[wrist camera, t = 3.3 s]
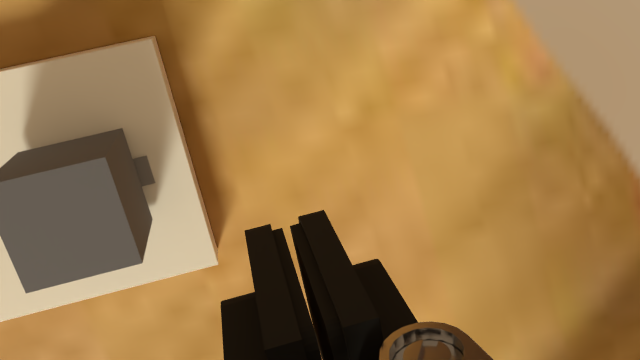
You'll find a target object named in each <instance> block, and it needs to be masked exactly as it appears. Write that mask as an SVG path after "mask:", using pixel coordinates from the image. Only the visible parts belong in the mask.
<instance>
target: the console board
mask: <svg viewBox="0 0 640 360" xmlns="http://www.w3.org/2000/svg"><path fill="white" fill-rule="evenodd" d="M120 128H123V131H124V134H125V137H126V140H127V143H128V146H129V149H130V152H131V155H132V158H133V161H134V164H135V168H136V171H137V174H138V177H139V180H140V183H141V186H142V189H143V192H144V195H145V198H146V201H147V204H148V207H149V210H150V213H151V216H152V219H153V220H152V224H151V229H150V233H149V237H148V242H147V246H146V250H145V255H144V259H143V263H142V264H138V265H134V266H130V267H126V268H122V269H119V270H115V271H111V272H107V273H103V274H99V275H95V276H92V277H88V278H84V279H80V280H76V281H72V282H68V283H65V284H61V285H57V286H53V287H49V288H45V289H41V290H38V291H34V292H30V293H25V290H24V288H23V286H22V284H21V281H20V279H19V277H18V275H17V272H16V270H15V268H14V266H13V263H12V261H11V259H10V257H9V254H8V252H7V250H6V248H5V245H4V243H3V241H2V239H1V236H0V322H2V321H6V320H9V319H13V318H17V317H21V316H25V315H28V314H32V313H36V312H40V311H44V310H47V309H51V308H55V307H59V306H63V305H66V304H70V303H74V302H78V301H81V300H85V299H89V298H93V297H97V296H100V295H104V294H108V293H112V292H116V291H119V290H123V289H127V288H131V287H135V286H138V285H142V284H146V283H150V282H154V281H157V280H161V279H165V278H169V277H173V276H176V275H180V274H184V273H188V272H192V271H195V270H199V269H203V268H207V267H211V266H214V265H218V250H217V246H216V243H215V239H214V236H213V232H212V229H211V226H210V222H209V219H208V215H207V212H206V209H205V205H204V202H203V198H202V195H201V191H200V188H199V185H198V181H197V178H196V174H195V171H194V168H193V164H192V161H191V157H190V154H189V150H188V147H187V144H186V140H185V137H184V133H183V130H182V127H181V123H180V120H179V116H178V113H177V109H176V106H175V103H174V99H173V96H172V92H171V89H170V85H169V82H168V79H167V75H166V72H165V68H164V65H163V62H162V58H161V55H160V51H159V48H158V44H157V41H156V38H155V36H151V37H146V38H142V39H137V40H132V41H128V42H123V43H119V44H114V45H109V46H105V47H100V48H95V49H91V50H86V51H82V52H77V53H72V54H68V55H63V56H58V57H54V58H49V59H44V60H40V61H35V62H31V63H26V64H21V65H17V66H12V67H7V68H3V69H0V168H1V167H2V166H3V165H4V164H5V163H6V162H7V161H9V160H10V159H11V158H12V157H13V156H14V155H15V154H16V153H18V152H21V151H26V150H30V149H34V148H39V147H43V146H47V145H51V144H56V143H60V142H64V141H69V140H73V139H77V138H82V137H86V136H90V135H94V134H99V133H103V132H107V131H112V130H116V129H120Z"/></svg>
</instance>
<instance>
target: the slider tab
mask: <svg viewBox="0 0 640 360" xmlns="http://www.w3.org/2000/svg"><path fill="white" fill-rule="evenodd" d="M152 220H153V219H152V216H151V213H150V210H149V207H148V204H147V201H146V198H145V195H144V192H143V189H142V186H141V183H140V180H139V177H138V174H137V171H136V168H135V164H134V161H133V158H132V155H131V152H130V149H129V146H128V143H127V140H126V137H125V134H124V131H123V128H120V129H116V130H112V131H107V132H103V133H99V134H94V135H90V136H86V137H82V138H77V139H73V140H69V141H64V142H60V143H56V144H51V145H47V146H43V147H39V148H34V149H30V150H26V151H21V152H18V153H16V154H15V155H14V156H13V157H12V158H11V159H10V160H9V161H7V162H6V163H5V164H4V165H3V166H2V167H1V168H0V236H1V239H2V241H3V243H4V245H5V248H6V250H7V252H8V254H9V257H10V259H11V261H12V263H13V266H14V268H15V270H16V272H17V275H18V277H19V279H20V281H21V284H22V286H23V288H24V290H25V293H30V292H34V291H38V290H41V289H45V288H49V287H53V286H57V285H61V284H65V283H68V282H72V281H76V280H80V279H84V278H88V277H92V276H95V275H99V274H103V273H107V272H111V271H115V270H119V269H122V268H126V267H130V266H134V265H138V264H142V263H143V259H144V255H145V250H146V246H147V242H148V237H149V233H150V229H151V224H152Z"/></svg>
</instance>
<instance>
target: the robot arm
mask: <svg viewBox="0 0 640 360" xmlns="http://www.w3.org/2000/svg"><path fill="white" fill-rule="evenodd" d="M298 219H299V224H296V225H292V226H290V228H291V233H292V237H293V242H294V246H295V250H296V254H297V259H298V263H299V267H300V271H301V276H302V280H303V284H304V288H305V293H306V297H307V301H308V305H309V310H310V314H311V318H312V321H311V318H310V315H309V311H308V308H307V305H306V302H305V299H304V296H303V293H302V289H301V286H300V283H299V280H298V277H297V274H296V270H295V267H294V264H293V261H292V258H291V255H290V251H289V248H288V245H287V242H286V239H285V236H284V233H283V229H282V228H280V229H277V230H273V231H272V229H271V225H270V224H268V225H265V226H261V227H257V228H253V229H249V230H245V236H246V242H247V248H248V254H249V260H250V266H251V271H252V277H253V283H254V289H255V292H253V293H249V294H246V295H242V296H238V297H235V298H231V299H227V300H224V301H221V317H222V334H223V350H224V360H322V359H323V360H493V359H492V358H491V357H490V356H489V355H488V354H487V353H486V352H485V351H484V350H483V349H482V348H481V347H480V346H479V345H478V344H477V343H476V342H474V341H473V340H472V339H471V338H470V337H469V336H468V335H467V334H466V333H464V332H463V331H461V330H460V329H458V328H457V327H454V326H451V325H448V324H445V323H438V322H420V323H418V322H417V320H416V319H415V317H414V315H413V314H412V312H411V310H410V309H409V307H408V306H407V304H406V302H405V301H404V299H403V298H402V296H401V294H400V293H399V291H398V289H397V288H396V286H395V285H394V283H393V281H392V280H391V278H390V277H389V275H388V273H387V272H386V270H385V268H384V267H383V265H382V264H381V262H380V261H379V260H378V259H374V260H370V261H366V262H363V263H359V264H356V265H352V264H351V262H350V260H349V258H348V256H347V254H346V252H345V250H344V248H343V246H342V244H341V242H340V240H339V238H338V237H337V235H336V233H335V231H334V229H333V227H332V225H331V223H330V221H329V219H328V217H327V215H326V213H325V211H324V210H322V211H318V212H315V213H311V214H307V215H303V216H299V217H298ZM312 322H313V324H312ZM320 353H321V354H320ZM321 356H322V358H321Z"/></svg>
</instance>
